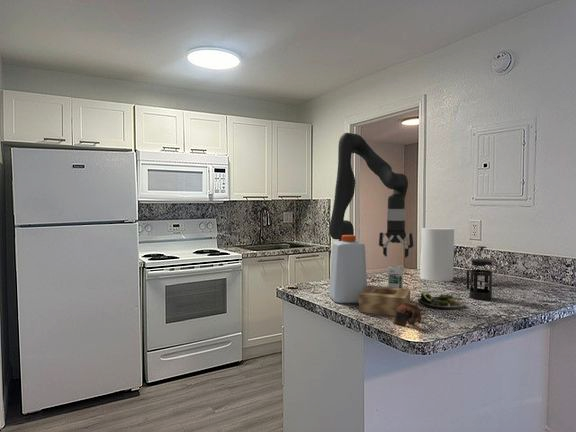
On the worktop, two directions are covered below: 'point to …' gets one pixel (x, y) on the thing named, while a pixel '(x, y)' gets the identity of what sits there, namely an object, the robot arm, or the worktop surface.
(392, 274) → the syrup box
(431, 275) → the cylinder
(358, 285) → the plastic bottle
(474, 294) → the french press
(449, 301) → the salad plate
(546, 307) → the worktop surface
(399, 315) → the pottery mug
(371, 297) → the slot block
